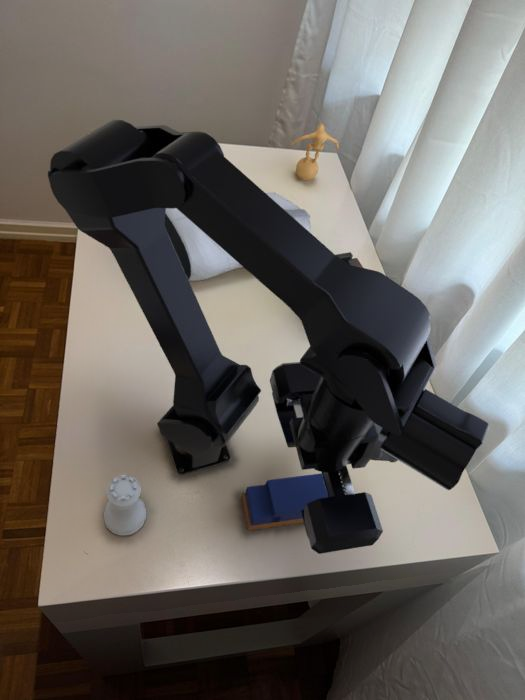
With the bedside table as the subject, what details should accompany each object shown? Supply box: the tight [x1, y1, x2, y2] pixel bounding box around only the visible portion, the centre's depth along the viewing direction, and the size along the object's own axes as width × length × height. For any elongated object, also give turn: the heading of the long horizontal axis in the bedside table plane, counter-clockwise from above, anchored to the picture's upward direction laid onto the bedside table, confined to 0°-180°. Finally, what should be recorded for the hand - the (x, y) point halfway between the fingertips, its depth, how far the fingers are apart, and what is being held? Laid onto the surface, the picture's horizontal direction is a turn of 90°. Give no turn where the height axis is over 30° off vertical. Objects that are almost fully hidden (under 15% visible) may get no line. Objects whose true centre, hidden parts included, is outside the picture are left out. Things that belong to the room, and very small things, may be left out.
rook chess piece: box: [103, 474, 147, 536], centre depth 59 cm, size 4×4×8 cm
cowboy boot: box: [165, 191, 312, 282], centre depth 90 cm, size 10×28×25 cm
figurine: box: [290, 123, 340, 181], centre depth 99 cm, size 8×6×12 cm
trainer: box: [241, 473, 328, 532], centre depth 64 cm, size 9×4×4 cm, turn 102°
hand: (302, 484), depth 61 cm, fingers open, 9 cm apart
